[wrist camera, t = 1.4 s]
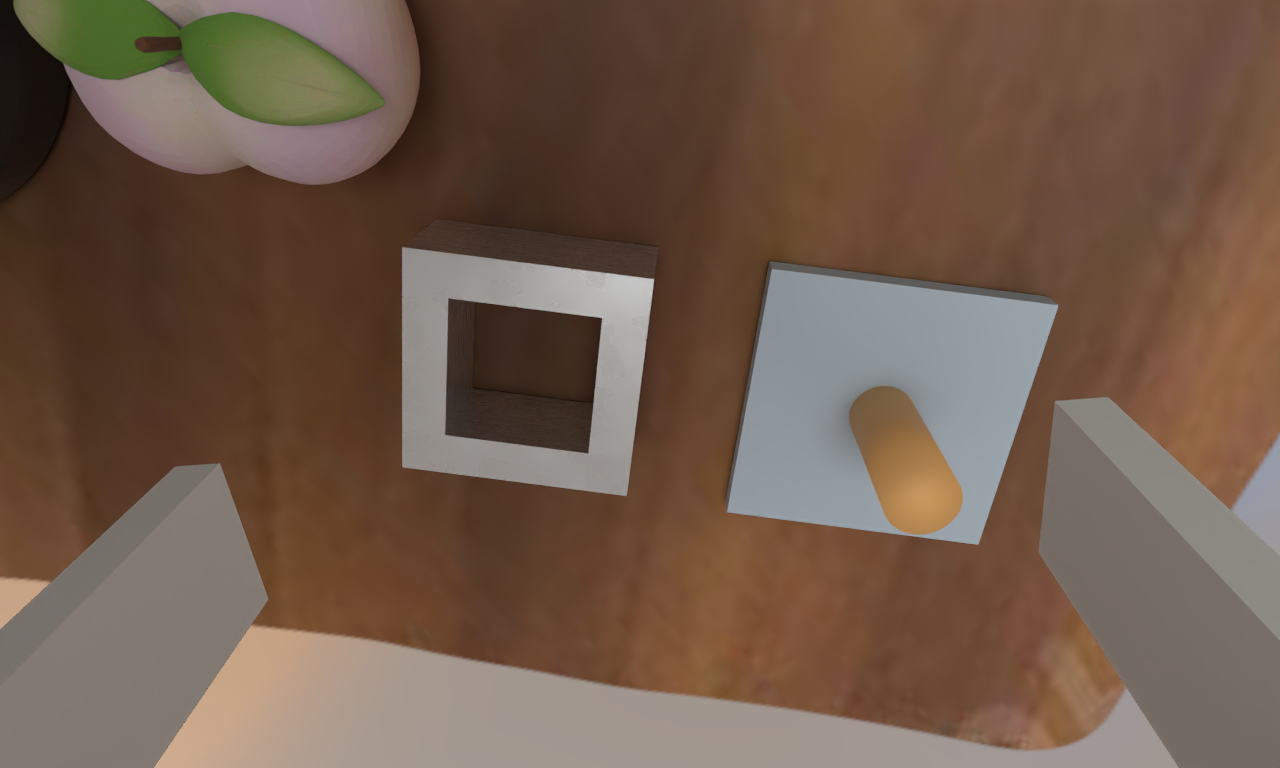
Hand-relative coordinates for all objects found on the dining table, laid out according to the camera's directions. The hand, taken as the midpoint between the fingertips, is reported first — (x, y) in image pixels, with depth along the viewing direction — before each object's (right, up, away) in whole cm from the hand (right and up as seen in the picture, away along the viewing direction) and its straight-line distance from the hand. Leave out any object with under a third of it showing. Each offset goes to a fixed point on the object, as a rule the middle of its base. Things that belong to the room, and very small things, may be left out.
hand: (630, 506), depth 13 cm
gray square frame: (-4, +4, +18) cm, 19 cm away
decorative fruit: (-10, +14, +14) cm, 23 cm away
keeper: (+9, +1, +19) cm, 21 cm away
